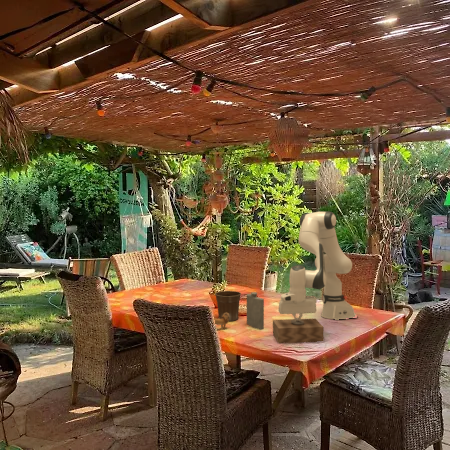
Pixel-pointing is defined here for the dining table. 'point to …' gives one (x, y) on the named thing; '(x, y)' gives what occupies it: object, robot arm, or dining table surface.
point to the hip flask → (255, 311)
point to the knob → (297, 322)
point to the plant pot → (228, 304)
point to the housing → (298, 331)
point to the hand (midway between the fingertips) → (297, 321)
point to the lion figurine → (222, 320)
